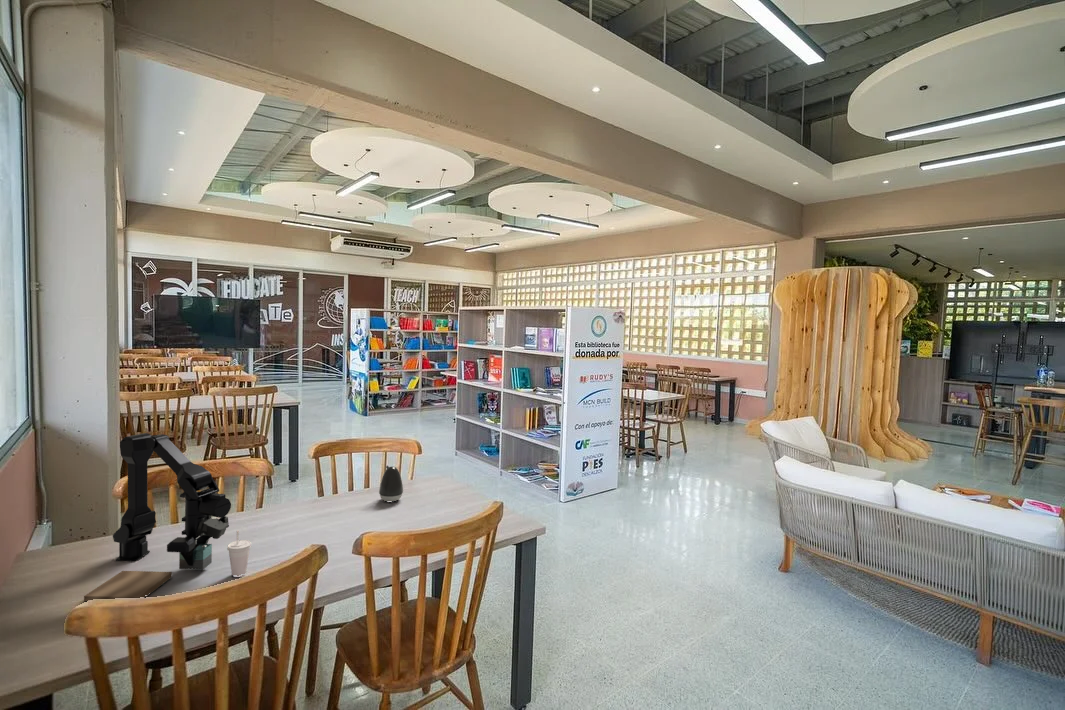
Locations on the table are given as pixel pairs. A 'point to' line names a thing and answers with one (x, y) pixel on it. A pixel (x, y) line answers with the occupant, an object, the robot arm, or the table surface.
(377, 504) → the table surface
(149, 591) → the stand
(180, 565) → the housing
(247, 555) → the smoothie
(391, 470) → the black egg-shaped speaker
